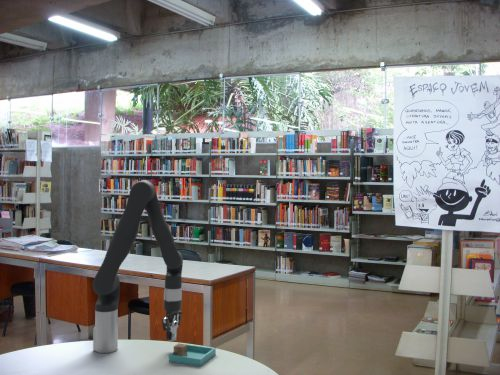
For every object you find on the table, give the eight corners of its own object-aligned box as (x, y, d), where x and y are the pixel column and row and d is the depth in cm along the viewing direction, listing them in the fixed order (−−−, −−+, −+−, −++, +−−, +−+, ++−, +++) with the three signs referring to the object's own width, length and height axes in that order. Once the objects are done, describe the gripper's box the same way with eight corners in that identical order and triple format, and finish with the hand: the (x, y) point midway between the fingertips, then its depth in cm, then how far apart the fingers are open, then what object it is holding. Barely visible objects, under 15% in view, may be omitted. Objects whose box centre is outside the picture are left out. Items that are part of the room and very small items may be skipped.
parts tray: (168, 361, 201) (168, 354, 201) (185, 350, 214) (185, 344, 214) (200, 366, 196) (200, 359, 196) (215, 354, 209) (215, 348, 209)
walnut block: (173, 358, 202) (173, 346, 202) (178, 355, 206) (178, 343, 206) (182, 360, 201) (182, 347, 201) (187, 356, 204) (187, 344, 204)
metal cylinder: (165, 340, 213) (165, 326, 213) (169, 337, 217) (170, 323, 216) (173, 341, 211) (173, 327, 211) (177, 338, 215) (178, 324, 215)
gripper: (173, 293, 222) (171, 332, 222) (156, 300, 208) (155, 342, 209) (188, 295, 219) (187, 335, 219) (172, 303, 206) (171, 344, 206)
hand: (171, 338), depth 214 cm, fingers closed on metal cylinder, 4 cm apart
